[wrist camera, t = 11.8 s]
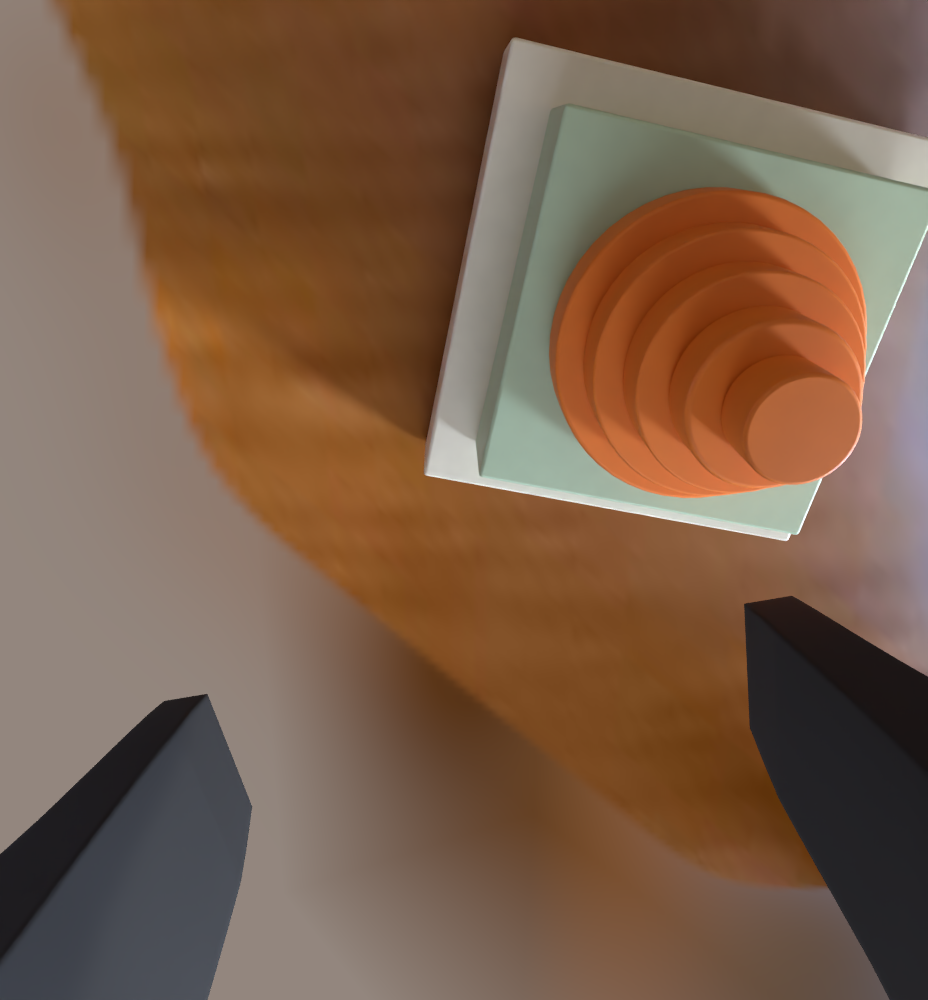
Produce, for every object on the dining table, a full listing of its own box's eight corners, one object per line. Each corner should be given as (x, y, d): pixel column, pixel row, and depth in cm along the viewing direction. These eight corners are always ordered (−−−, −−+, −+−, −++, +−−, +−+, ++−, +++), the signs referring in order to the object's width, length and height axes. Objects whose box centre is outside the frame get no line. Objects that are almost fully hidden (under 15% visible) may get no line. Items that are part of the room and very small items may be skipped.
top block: (474, 443, 18) (477, 477, 16) (551, 106, 15) (565, 102, 13) (764, 498, 19) (799, 537, 17) (888, 186, 16) (945, 191, 14)
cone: (518, 452, 16) (549, 576, 11) (593, 155, 14) (667, 160, 9) (779, 501, 16) (907, 638, 12) (891, 223, 14) (1103, 261, 10)
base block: (424, 445, 20) (423, 476, 18) (504, 47, 16) (511, 36, 15) (758, 507, 21) (788, 542, 19) (902, 143, 17) (956, 143, 16)
